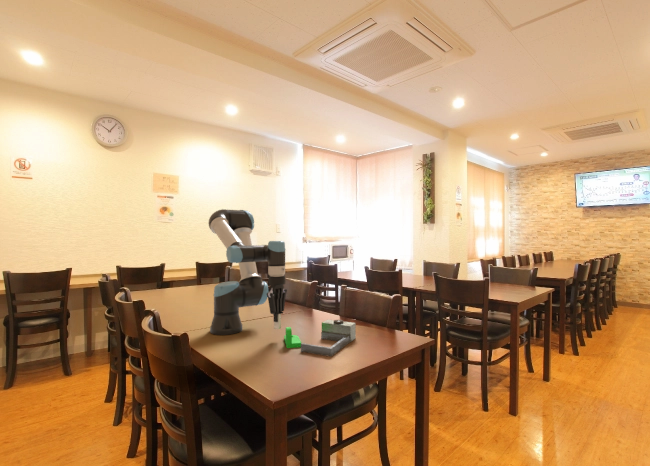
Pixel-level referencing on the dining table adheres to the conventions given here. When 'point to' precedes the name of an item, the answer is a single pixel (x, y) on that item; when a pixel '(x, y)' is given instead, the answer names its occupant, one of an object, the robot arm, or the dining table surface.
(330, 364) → the dining table surface
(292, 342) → the mechanical part
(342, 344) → the knobbed latch bracket
